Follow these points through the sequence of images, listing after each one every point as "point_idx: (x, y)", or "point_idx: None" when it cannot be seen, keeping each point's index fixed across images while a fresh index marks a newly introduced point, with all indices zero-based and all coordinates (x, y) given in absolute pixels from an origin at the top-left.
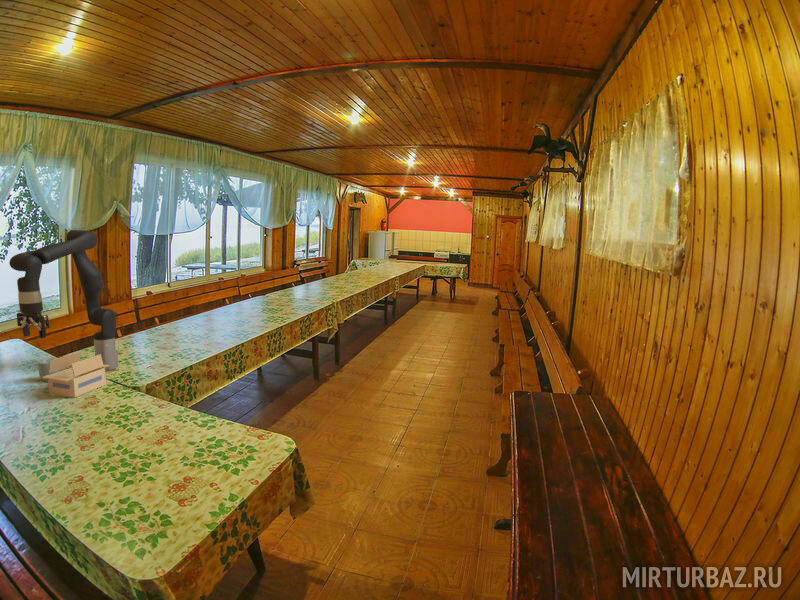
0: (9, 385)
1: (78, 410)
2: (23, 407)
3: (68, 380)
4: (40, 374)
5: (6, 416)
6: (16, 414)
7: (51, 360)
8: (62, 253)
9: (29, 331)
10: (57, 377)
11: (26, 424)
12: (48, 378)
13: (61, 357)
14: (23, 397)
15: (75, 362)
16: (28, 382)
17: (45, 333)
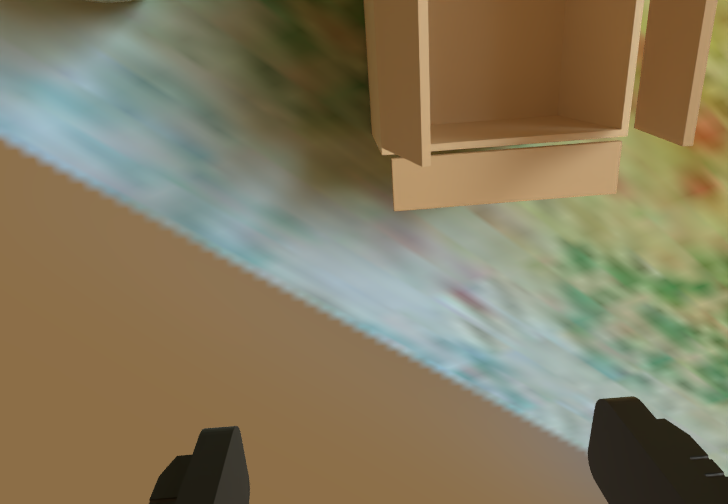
0: (9, 126)
1: (699, 227)
2: (423, 298)
3: (615, 171)
4: (93, 1)
5: (450, 377)
6: (469, 352)
7: (428, 153)
8: None
9: (218, 492)
10: (506, 170)
11: (596, 392)
12: (460, 205)
13: (423, 31)
14: (293, 219)
15: (698, 99)
16: (42, 38)
17: (722, 481)
